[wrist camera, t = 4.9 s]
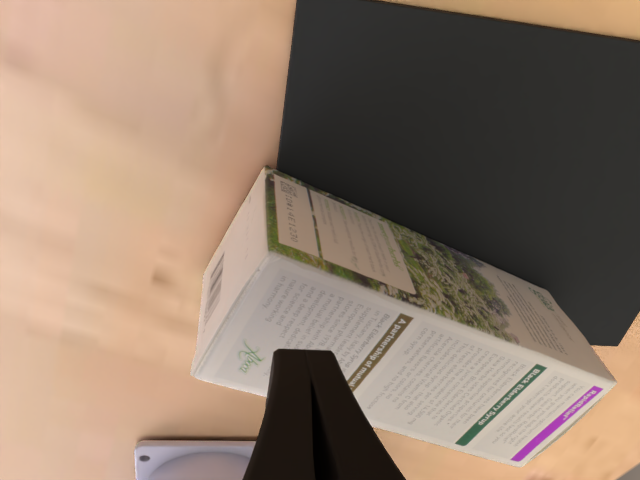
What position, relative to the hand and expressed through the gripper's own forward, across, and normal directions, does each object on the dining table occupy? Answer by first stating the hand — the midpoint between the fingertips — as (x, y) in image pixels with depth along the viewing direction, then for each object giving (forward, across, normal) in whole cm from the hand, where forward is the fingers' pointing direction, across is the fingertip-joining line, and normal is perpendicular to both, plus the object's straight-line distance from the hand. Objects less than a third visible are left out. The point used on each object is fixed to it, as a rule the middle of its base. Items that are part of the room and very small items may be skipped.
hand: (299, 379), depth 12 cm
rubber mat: (+9, -9, 0) cm, 13 cm away
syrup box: (+6, +2, +1) cm, 7 cm away
